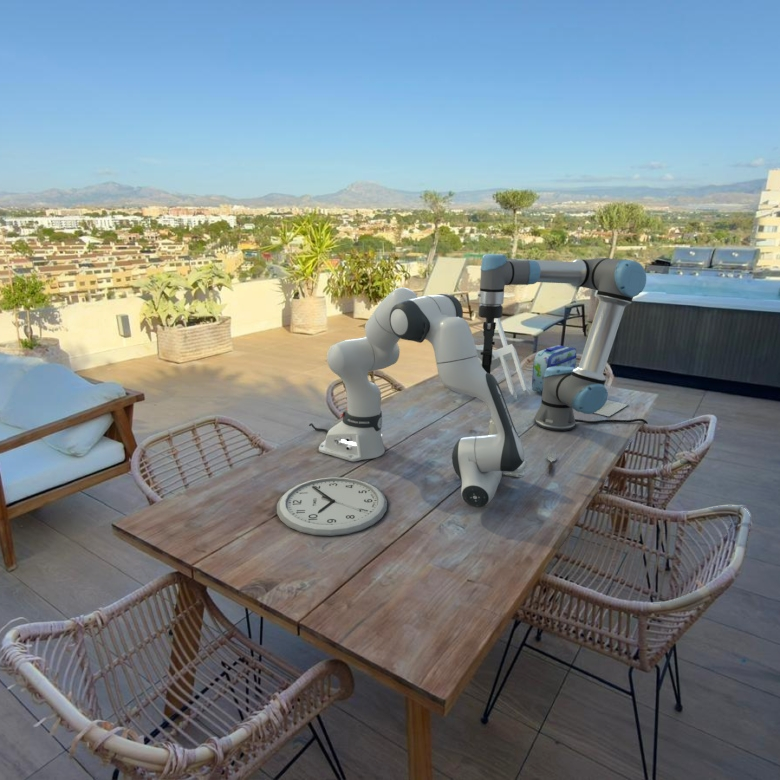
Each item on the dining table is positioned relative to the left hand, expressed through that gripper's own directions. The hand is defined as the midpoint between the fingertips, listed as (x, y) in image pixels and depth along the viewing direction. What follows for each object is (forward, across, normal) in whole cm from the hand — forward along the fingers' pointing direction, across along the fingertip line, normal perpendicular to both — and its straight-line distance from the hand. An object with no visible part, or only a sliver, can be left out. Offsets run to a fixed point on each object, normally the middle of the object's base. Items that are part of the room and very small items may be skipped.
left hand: (494, 453), depth 161 cm
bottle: (0, 0, +7) cm, 7 cm away
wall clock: (-37, +38, +7) cm, 53 cm away
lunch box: (+99, -10, +7) cm, 100 cm away
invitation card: (+82, -32, +7) cm, 89 cm away
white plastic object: (+82, +21, +7) cm, 85 cm away
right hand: (+17, +7, -22) cm, 29 cm away
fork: (+13, -16, +7) cm, 22 cm away
